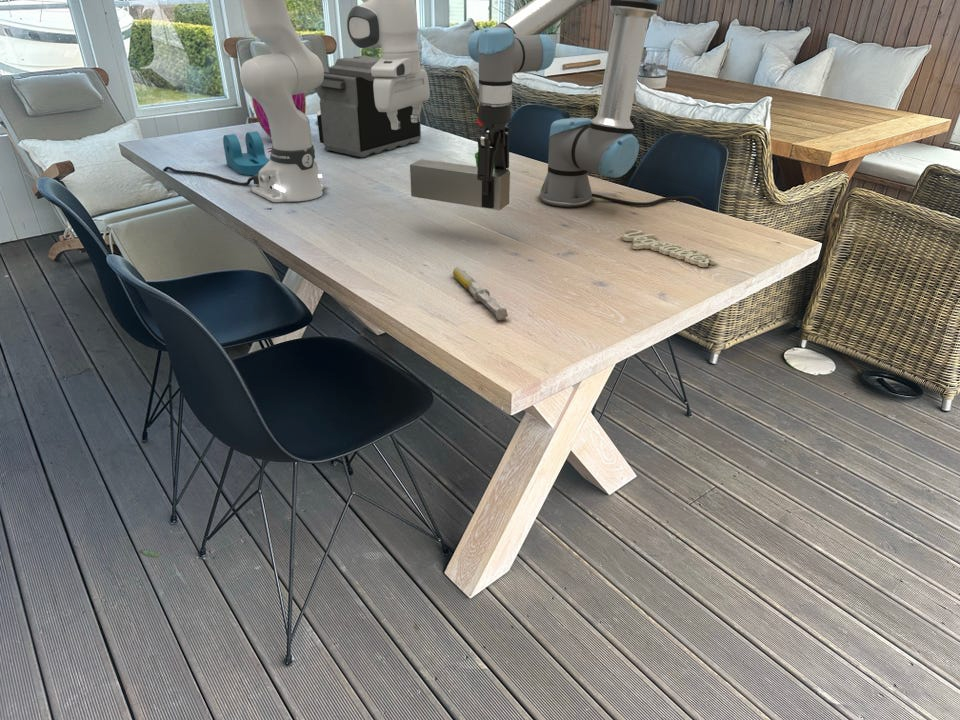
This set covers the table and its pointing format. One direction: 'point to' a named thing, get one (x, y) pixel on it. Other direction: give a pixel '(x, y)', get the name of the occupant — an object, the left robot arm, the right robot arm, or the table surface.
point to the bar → (456, 183)
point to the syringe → (479, 293)
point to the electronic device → (358, 112)
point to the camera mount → (245, 161)
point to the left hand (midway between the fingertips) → (406, 125)
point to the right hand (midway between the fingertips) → (493, 203)
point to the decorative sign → (667, 248)
